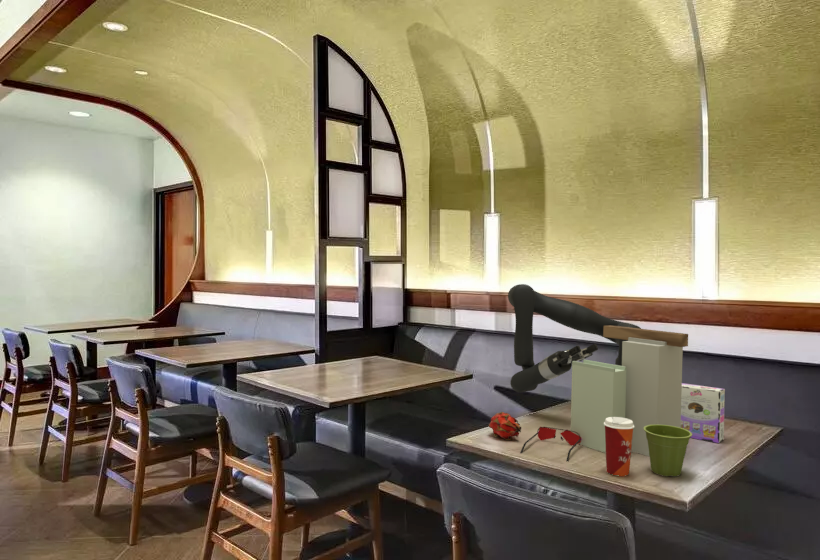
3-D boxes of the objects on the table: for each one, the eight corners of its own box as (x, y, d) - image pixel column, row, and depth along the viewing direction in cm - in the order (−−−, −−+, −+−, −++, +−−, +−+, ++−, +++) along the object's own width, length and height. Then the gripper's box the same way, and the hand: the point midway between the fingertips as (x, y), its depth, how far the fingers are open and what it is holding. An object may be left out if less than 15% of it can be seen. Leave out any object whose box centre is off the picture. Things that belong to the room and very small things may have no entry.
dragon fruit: (491, 436, 192) (518, 451, 183) (477, 425, 187) (504, 440, 178) (505, 414, 194) (532, 428, 185) (492, 402, 189) (519, 416, 180)
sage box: (583, 438, 186) (584, 359, 185) (624, 451, 174) (626, 366, 173) (570, 441, 183) (572, 361, 182) (611, 454, 170) (613, 368, 170)
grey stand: (643, 441, 184) (646, 335, 183) (679, 451, 174) (682, 340, 173) (619, 447, 177) (622, 338, 176) (656, 458, 168) (659, 342, 167)
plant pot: (641, 476, 153) (642, 433, 153) (643, 462, 164) (644, 422, 164) (691, 483, 149) (693, 439, 148) (690, 469, 159) (691, 427, 159)
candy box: (724, 440, 187) (726, 388, 186) (718, 444, 183) (720, 391, 182) (679, 431, 196) (680, 381, 196) (672, 434, 192) (674, 384, 191)
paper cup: (629, 480, 151) (631, 425, 150) (599, 474, 155) (600, 420, 154) (636, 471, 157) (637, 418, 157) (606, 465, 161) (607, 414, 161)
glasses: (582, 447, 178) (582, 431, 178) (567, 463, 164) (568, 445, 164) (537, 440, 185) (537, 424, 185) (519, 454, 171) (520, 437, 171)
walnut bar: (610, 336, 189) (610, 325, 189) (687, 346, 168) (688, 333, 168) (603, 336, 187) (603, 325, 187) (681, 347, 166) (681, 334, 166)
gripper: (536, 357, 203) (569, 338, 191) (564, 353, 211) (597, 335, 200) (544, 377, 200) (578, 359, 189) (572, 373, 208) (606, 356, 197)
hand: (588, 347), depth 194 cm, fingers open, 8 cm apart
